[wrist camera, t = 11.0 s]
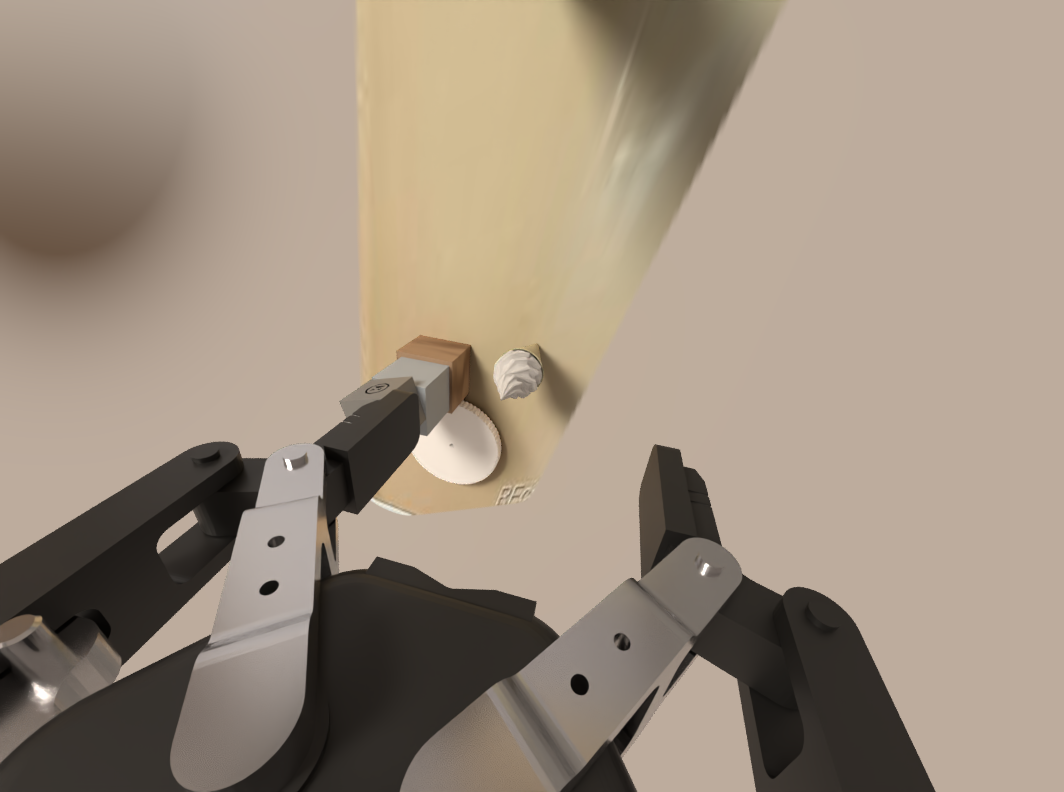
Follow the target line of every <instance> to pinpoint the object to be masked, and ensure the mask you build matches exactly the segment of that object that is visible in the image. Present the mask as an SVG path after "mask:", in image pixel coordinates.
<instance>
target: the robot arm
mask: <svg viewBox="0 0 1064 792" xmlns="http://www.w3.org/2000/svg"><path fill="white" fill-rule="evenodd" d="M419 437H420V416H419V399H418V396H417V394H415V393H411V392H406V391H402V390H397V389H394V390H392V391H391V392H390V393H388V394H387V395H386V396H385V397H383V398H382V399H381V400H375V401H373V402H370V403H368V404H365V405H363V406H361V407H360V408H359V409H358V410H356V411H355V412H354V413H352V416H351V415H350V416H349V417H347V418H346V419H345V420H344V421H343V422H341V423H339V424H338V425H337V426H336V427H334V428H333V429H332V430H330V431H329V432H328V433H327V434H325V435H324V436H323V437H321V438H320V439H319V440H317V441H316V442H315V443H314V444H310V443H300V444H294V445H290V446H286V447H283V448H281V449H279V450H277V451H276V452H274V453H273V454H271V455H270V457H268V458H266V459H265V458H264V459H263V458H260V459H259V458H254V459H253V458H252V459H251V458H242V457H241V454H240V451H239V448H238V447H237V446H236V445H235V444H233V443H230V442H211V443H207V444H202V445H199V446H196V447H193V448H191V449H189V450H187V451H185V452H183V453H181V454H180V455H178V456H177V457H175V458H173V459H172V460H170V461H169V462H167V463H165V464H163V465H162V466H160V467H159V468H157V469H155V470H154V471H152V472H150V473H149V474H147V475H145V476H144V477H142V478H141V479H139V480H137V481H136V482H134V483H132V484H131V485H129V486H127V487H126V488H124V489H122V490H121V491H119V492H118V493H116V494H114V495H113V496H111V497H109V498H108V499H106V500H104V501H103V502H101V503H99V504H98V505H97V506H95V507H93V508H91V509H90V510H88V511H86V512H85V513H83V514H81V515H80V516H78V517H77V518H75V519H73V520H72V521H70V522H68V523H67V524H65V525H63V526H62V527H60V528H58V529H57V530H55V531H54V532H52V533H50V534H49V535H47V536H45V537H44V538H42V539H40V540H39V541H37V542H36V543H34V544H32V545H31V546H29V547H27V548H26V549H24V550H23V551H21V552H19V553H17V554H16V555H15V556H13V557H11V558H9V559H8V560H6V561H4V562H3V563H1V564H0V792H637V790H636V788H635V786H634V784H633V782H632V780H631V778H630V775H629V773H628V771H627V769H626V767H625V765H624V763H623V760H622V757H623V756H624V755H625V753H626V752H627V751H628V749H629V748H630V747H631V746H632V744H633V743H634V742H635V740H636V739H637V737H638V736H639V735H640V734H641V732H642V731H643V729H644V728H645V726H646V725H647V723H648V722H649V721H650V719H651V717H652V716H653V714H654V713H655V711H656V710H657V709H658V707H659V706H660V704H661V703H662V702H663V700H664V699H665V698H666V697H667V695H668V694H669V693H670V691H671V690H672V689H673V688H674V686H675V685H676V684H677V682H678V681H679V680H680V679H681V677H682V676H683V675H684V673H685V672H686V671H687V669H688V668H689V667H690V666H691V664H692V663H693V662H694V660H695V659H696V658H697V657H698V655H699V656H701V657H703V658H704V659H706V660H707V661H709V662H711V663H712V664H714V665H715V666H717V667H719V668H720V669H722V670H724V671H725V672H727V673H728V674H730V675H732V676H733V677H735V678H737V680H738V686H739V692H740V698H741V704H742V710H743V716H744V722H745V727H746V734H747V739H748V746H749V751H750V757H751V763H752V769H753V775H754V781H755V787H756V792H935V790H934V787H933V786H932V783H931V781H930V779H929V777H928V775H927V773H926V771H925V769H924V766H923V764H922V762H921V760H920V758H919V756H918V754H917V752H916V749H915V747H914V745H913V743H912V741H911V739H910V737H909V735H908V733H907V731H906V729H905V726H904V724H903V722H902V720H901V718H900V716H899V714H898V711H897V709H896V707H895V706H894V703H893V701H892V699H891V697H890V695H889V693H888V691H887V688H886V686H885V684H884V682H883V680H882V678H881V676H880V674H879V671H878V669H877V667H876V665H875V663H874V661H873V659H872V656H871V654H870V652H869V650H868V648H867V646H866V644H865V642H864V640H863V638H862V635H861V633H860V631H859V629H858V627H857V626H856V624H855V623H854V621H853V620H852V618H851V617H850V616H849V615H848V614H847V613H846V612H845V611H844V610H843V609H842V608H841V607H840V606H839V605H838V604H836V603H835V602H834V601H832V600H831V599H829V598H828V597H826V596H825V595H823V594H821V593H819V592H817V591H814V590H811V589H808V588H804V587H794V588H790V589H789V590H787V591H786V592H785V594H784V595H783V596H782V595H780V594H777V593H775V592H774V591H772V590H770V589H767V588H766V587H764V586H762V585H760V584H758V583H756V582H754V581H752V580H750V579H749V578H747V577H746V576H744V575H743V574H742V571H741V568H740V565H739V563H738V562H737V560H736V559H735V558H734V557H733V555H732V554H731V553H730V552H729V551H727V550H726V549H725V548H724V547H722V545H721V541H720V537H719V534H718V530H717V526H716V522H715V518H714V515H713V511H712V508H711V504H710V500H709V497H708V492H707V488H706V485H705V482H704V480H703V479H702V478H701V476H700V475H699V474H698V473H697V471H696V470H695V469H692V468H687V467H683V462H682V457H681V452H680V450H679V449H675V448H670V447H665V446H661V445H656V444H655V445H654V447H653V449H652V452H651V455H650V458H649V462H648V464H647V468H646V471H645V474H644V477H643V480H642V484H641V488H640V495H639V518H640V550H641V580H639V581H638V582H637V581H636V580H635V579H634V578H630V579H627V580H626V581H624V582H623V583H622V584H621V585H620V586H618V587H617V588H616V589H615V590H614V591H613V592H612V593H610V594H609V595H608V596H607V597H606V598H605V599H603V600H602V601H601V602H600V603H599V604H598V605H596V606H595V607H594V608H593V609H592V610H591V611H589V612H588V613H587V614H586V615H585V616H584V617H583V618H581V619H580V620H579V621H578V622H577V623H575V624H574V625H573V626H572V627H571V628H570V629H569V630H567V631H566V632H565V633H564V634H563V635H562V636H559V635H558V634H557V633H556V632H555V631H554V630H553V629H552V628H550V627H549V626H548V625H547V624H545V623H544V622H543V621H541V620H540V619H538V618H537V617H535V616H534V613H535V608H536V601H532V600H528V599H525V598H521V597H518V596H514V595H511V594H507V593H504V592H499V591H497V590H475V589H451V588H448V587H446V586H444V585H443V584H441V583H439V582H438V581H436V580H434V579H433V578H431V577H429V576H428V575H426V574H424V573H423V572H421V571H420V570H418V569H416V568H415V567H412V566H409V565H405V564H401V563H398V562H394V561H391V560H387V559H383V558H380V557H376V559H375V560H374V561H373V563H372V564H371V566H370V567H369V568H368V569H360V570H352V571H346V572H342V573H339V557H338V520H337V516H338V515H339V514H340V513H341V512H342V511H346V512H350V513H354V514H359V512H360V511H361V510H362V509H363V508H364V507H365V505H366V504H367V503H368V502H369V501H370V500H371V498H372V497H373V496H374V495H375V494H376V493H377V492H378V490H379V489H380V488H381V487H382V486H383V485H384V483H385V482H386V481H387V480H388V479H389V478H390V476H391V475H392V474H393V473H394V472H395V471H396V470H397V468H398V467H399V466H400V465H401V464H402V463H403V461H404V460H405V459H406V458H407V457H408V456H409V454H410V453H411V452H412V451H413V450H414V449H415V447H416V445H417V443H418V441H419ZM192 510H193V511H194V513H195V516H196V518H197V520H198V523H196V524H195V525H194V526H193V527H191V528H190V529H189V530H188V531H187V532H185V533H184V534H183V535H182V536H180V537H179V538H178V539H177V540H175V541H174V542H173V543H172V544H171V545H169V546H168V547H167V548H165V549H164V550H163V551H162V552H160V553H159V554H158V553H157V549H156V547H157V543H158V540H159V538H160V536H161V535H162V534H163V533H164V532H165V531H166V530H167V529H168V528H169V527H171V526H172V525H173V524H175V523H176V522H177V521H179V520H180V519H181V518H183V517H184V516H185V515H187V514H188V513H189V512H190V511H192ZM229 561H230V564H229V568H228V572H227V576H226V579H225V583H224V587H223V591H222V595H221V599H220V603H219V607H218V610H217V614H216V618H215V622H214V626H213V630H212V634H211V635H209V636H207V637H205V638H203V639H201V640H199V641H197V642H195V643H193V644H191V645H189V646H187V647H185V648H183V649H181V650H179V651H177V652H175V653H173V654H171V655H169V656H167V657H165V658H163V659H161V660H159V661H157V662H155V663H153V664H151V665H149V666H147V667H145V668H143V669H141V670H139V671H137V672H135V673H133V674H131V675H129V676H127V677H125V678H123V679H121V680H119V681H117V682H115V683H113V682H114V681H115V679H116V677H117V675H118V674H119V671H120V668H121V666H122V665H123V664H124V663H126V662H127V660H129V658H131V657H132V656H133V655H134V654H135V653H136V652H137V651H138V650H139V649H140V648H141V647H142V646H143V645H144V644H145V643H146V642H147V641H148V640H149V639H150V638H151V637H152V636H153V635H154V634H155V633H156V632H157V631H158V630H159V629H160V628H161V627H162V626H163V625H164V624H165V623H167V622H168V621H169V620H170V619H171V617H172V616H174V615H175V614H176V613H177V611H179V610H180V609H181V608H182V607H183V606H184V605H185V604H186V603H187V602H188V601H189V600H190V599H191V598H192V597H193V596H194V595H195V594H196V593H197V592H198V591H199V590H200V589H201V588H202V587H203V586H204V585H205V584H206V583H207V582H209V581H210V580H211V579H212V577H214V576H215V575H216V574H217V573H218V572H219V571H220V570H221V569H222V568H223V567H224V566H225V565H226V564H227V563H228V562H229Z"/></svg>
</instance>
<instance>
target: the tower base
mask: <svg viewBox="0 0 1064 792" xmlns="http://www.w3.org/2000/svg"><path fill="white" fill-rule="evenodd" d="M470 352H471V345H468V344H463V343H458V342H452V341H447V340H442V339H437V338H432V337H427V336H421V335H420V336H419V337H417V338H415V339H414V340H412V341H411V342H409V343H408V344H406V345H405V346H403V347H402V348H400V349H399V350H397V351H396V353H397V360H398V359H399V358H400V357H406V358H411V359H416V360H421V361H427V362H432V363H437V364H442V365H448V366H449V411H448V412H447V413H451V414H452V413H453V412H454V410H455V409H456V408H457V407H458V405H459V404H460V403H461V402H462V401H463V399H464V398H465V397H466V396H467V395H468V393H469V380H470Z"/></svg>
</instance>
